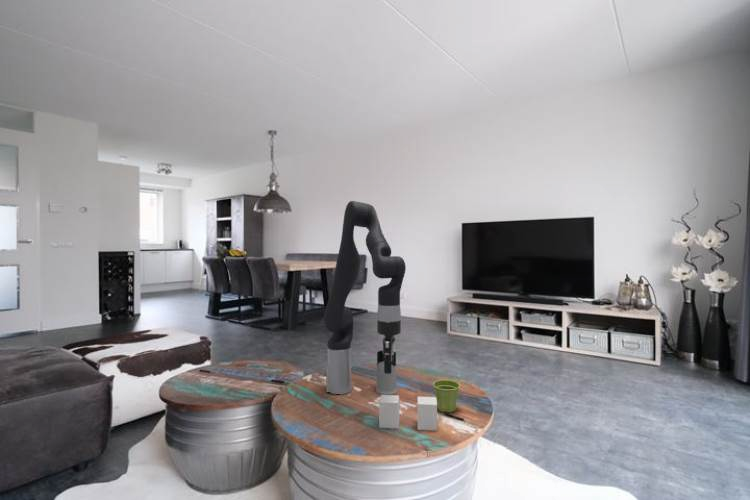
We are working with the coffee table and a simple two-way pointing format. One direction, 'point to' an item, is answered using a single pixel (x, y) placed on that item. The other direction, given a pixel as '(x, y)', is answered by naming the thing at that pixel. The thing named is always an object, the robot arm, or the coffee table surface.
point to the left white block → (389, 411)
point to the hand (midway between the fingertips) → (389, 368)
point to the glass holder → (386, 376)
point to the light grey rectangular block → (427, 413)
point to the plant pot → (446, 394)
